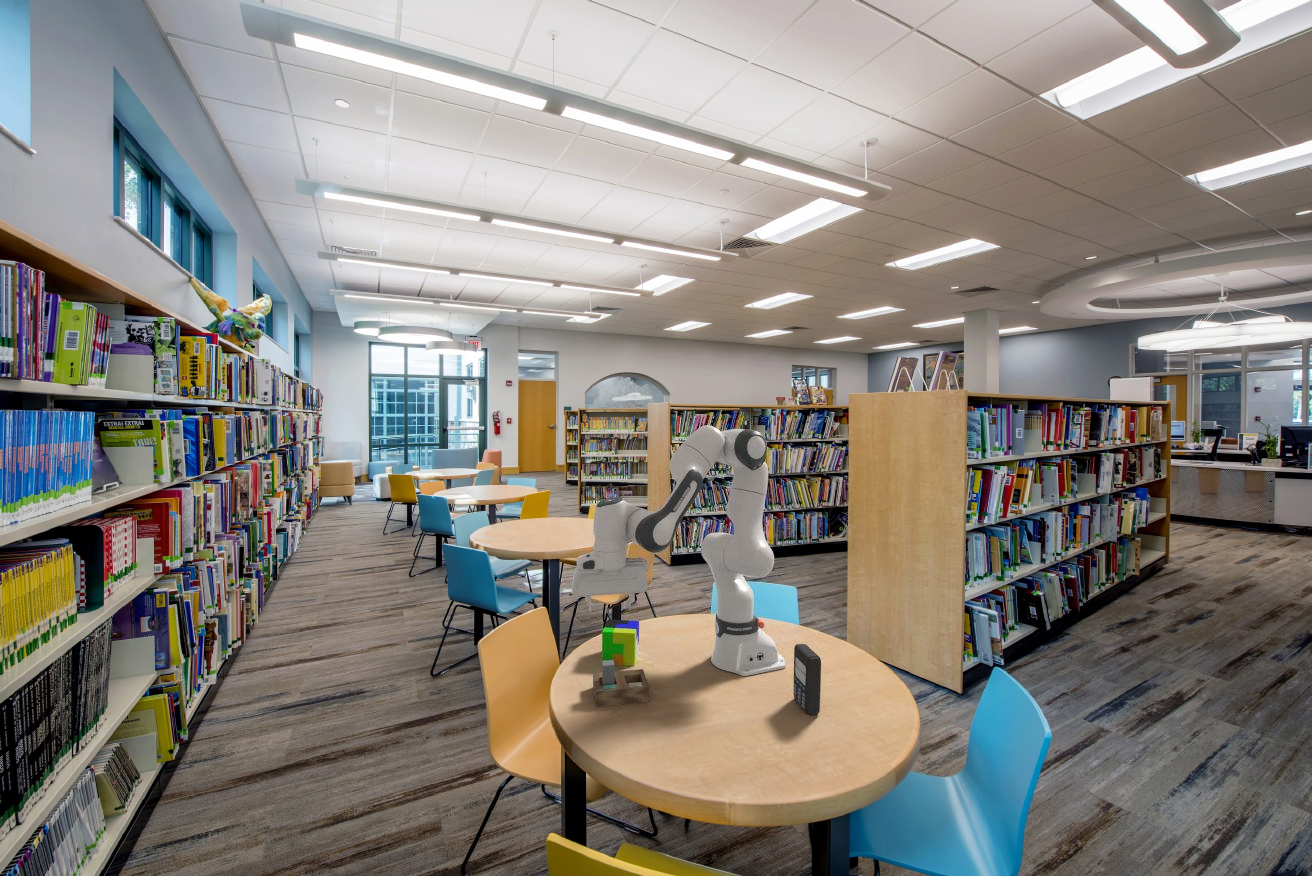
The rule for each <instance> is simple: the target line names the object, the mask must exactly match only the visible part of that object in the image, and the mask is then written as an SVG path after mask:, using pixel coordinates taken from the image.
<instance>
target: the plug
mask: <svg viewBox="0 0 1312 876" xmlns="http://www.w3.org/2000/svg"><path fill="white" fill-rule="evenodd" d="M615 666H616V665H614V661H613V660H607V661H602V660H601V673H602V685H614V671H615Z"/></svg>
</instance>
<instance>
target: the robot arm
mask: <svg viewBox="0 0 1312 876" xmlns="http://www.w3.org/2000/svg"><path fill="white" fill-rule="evenodd" d="M767 452H768V445H767V441H766V438H765V436H764V435H763V434H762V432H759V431H758V430H756V429H755V430H754V429H752V428H751V429H748V428H746V429H743V428H731V429H725V430H720V429H718V428H717V427H715V426H713V425H708V424H707V425H702V426H700V427H699V428H698V429H696V430H695V431H694V432H693V433H691V434H690V435H689V436H688V437H687V438H686V439H685V440H684V441H683V443H681V445H680V446H679V447H678V448H677V449H676V450H675V452H674V453H673V454H672V456H671V458H670V460H669V465H668V468H669V472H670V474H671V475H670V476H672V478H673V479H674V480H675V482H676V483H675V487H674V488H673V490H672V492H671V493H670V495H669V496H668V497H667V499H666V500H665V502H664V504H663V505H662V507H660V508H659V509H658V510H655V511H651V510H649V509H645V508H642V507H639V506H636V505H634V504H631V503H630V502H627V501H625V500H624V498H622V497H615V496H614V497H608V498H604V499H601V500H600V501H599V502H597V504H596V505H595V508H594V514H593V526H592V527H593V529H592V531H593V532H592V533H593V535H594V544H593V547H592V549H593V550H592V551H590V552H587V553H584V554H581V555H579V556H577V558H576V567H575V568H574V571H573V574H572V582H571V594H572V595H573V596H574V597H575V598H576V597H578V598H579V597H585V602H586V603H587V604H588V607H589V608H588V610H589V613H593V612H595V613H596V603H594V602H593V603H592V601H591V600H592V597H594V596H596V597H597V596H609V595H624V594H627V595H628V598H627V600H624V601H623V602H624V603H623V608H624V610H631V604H632V603H633V600H634V598H635V597H636V596H635V595H636V594H640V593H641V594H642V593H646V592H647V590H648V589H649V588H648V577H647V576H648V575H647V573H648V571H649V563H648V561H647V559H645V558H643V557H627V545H628V544H629V543H632V544H634V545H637V546H639V547H641V548H643V550H646V551H647V552H649V553H656V554H657V553H661V552H663V551H665V550H666V549H667V548H668V547H670V545H671V544H672V542H673V541H674V538H675V536H676V532H677V530H678V529H679V528H678V527H679V525H680V523H681V522H682V520H683V518H684V517H685V515H686V514H687V512H688V510H689V509H690V508H691V506H692V504H693V502H694V501H695V500H696V497H697V496H698V494H699V493H700V490H701V488H702V486H703V483H704V479H705V477H706V475H707V473H708V472H709V471H710V469H712V467H713V466H714V465H715V463H716V464H720V465H728V466H732V470H733V477H732V481H731V485H730V489H729V494H728V499H727V500H728V501H727V505H726V509H725V510H726V511H725V512H726V516H727V517H728V519H729V520H730V521H731V522H732V525H733V530H734V531H733V533H734V534H732V533H727V532H711V533H708V534H707V535H706V536H705V537H704V538H703V540H702V543H701V546H700V547H701V548H700V552H701V556H702V558H703V560H704V561H705V562H706V564H708V567H709V569H710V571H711V573H712V576H713V579H714V584H715V588H716V612H717V613H716V614H715V620H714V633H715V638H714V639H715V640H714V646H713V652H712V654H711V657H710V662H711V663H712V665H714V666H715V667H716V668H717V669H720V670H723V671H726V672H730V673H734V674H737V675H740V676H742V677H747V676H753V675H757V674H762V673H767V672H773V671H777V670H783V669H785V668H786V660H785V658H784V657H783V655H782V654H780V653H779V652H778V647H777V644H776V642H775V641H774V640H773V638H772V637H771V636H770V635H768V634H767V632H764V631H763V630H762V629H763V628H765V626H766V624H765V622H764V621H763V620H762V619H759V617H757V616H755V615H754V602H755V601H754V600H755V599H754V597H755V595H754V591H753V590H752V588H751V586H750V585H749V584H748V583H747V581H746V578H745V577H747V578H758V579H760V578H765V577H767V576H768V575H769V574H770V573H771V572H772V570H773V568H774V566H775V555H774V551H773V550H772V548H771V547H770V545H769V544H768V542H767V540H766V537H765V534H764V527H763V525H764V524H763V517H764V509H765V502H766V497H767V491H768V483H769V467H768V464H767V462H765V461H766V459H767ZM744 576H745V577H744Z"/></svg>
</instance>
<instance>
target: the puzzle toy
mask: <svg viewBox="0 0 1312 876" xmlns="http://www.w3.org/2000/svg"><path fill="white" fill-rule="evenodd" d="M639 652H640V620H629V619H628V620H627V619H626V620H625V619H624V620H623V619H607V622H606V623H605V625H604V627H603V629H602V632H601V662H602V661H607V660H613V661H614V665H615V666H629V667H631V666H633V667H635V665H636V662H637V658H638V656H639Z"/></svg>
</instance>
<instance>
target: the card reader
mask: <svg viewBox="0 0 1312 876" xmlns="http://www.w3.org/2000/svg"><path fill="white" fill-rule="evenodd" d="M793 648H794V649H793V698H794V700H795V701H796V703H797V705H799V706H800V707H801V709H802V710H803V711H804V713H806V714H807V715H809V716H815V715H816V716H817V715H818V714H820V709H821V688H822V687H821V686H822V685H821V683H822V680H821V679H822V658H821V657H820V656H819V655H818V654H817V653H816V652H815V651H814V650H813V649H812V648H810V646H809V645H807V644H806V643H797V644H795V646H794V647H793Z"/></svg>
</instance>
